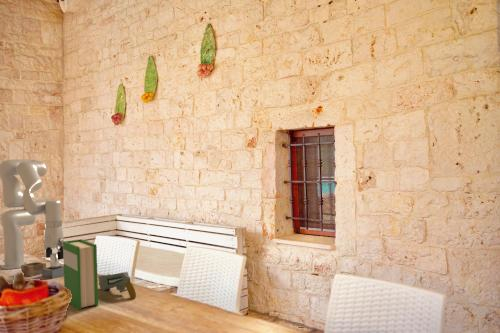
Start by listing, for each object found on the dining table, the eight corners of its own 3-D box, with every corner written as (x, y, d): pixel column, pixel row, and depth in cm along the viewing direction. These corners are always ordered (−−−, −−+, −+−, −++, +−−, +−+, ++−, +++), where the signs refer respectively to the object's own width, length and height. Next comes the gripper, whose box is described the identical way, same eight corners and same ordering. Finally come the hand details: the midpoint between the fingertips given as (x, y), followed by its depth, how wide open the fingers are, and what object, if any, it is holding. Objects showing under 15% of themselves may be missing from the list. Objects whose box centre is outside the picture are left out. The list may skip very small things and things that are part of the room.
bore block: (21, 274, 219) (21, 265, 219) (37, 271, 226) (36, 261, 226) (30, 276, 214) (30, 266, 214) (46, 272, 221) (46, 263, 221)
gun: (109, 308, 189) (102, 275, 193) (139, 296, 174) (130, 261, 178) (103, 310, 187) (95, 276, 190) (133, 298, 172) (124, 262, 175)
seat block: (41, 276, 214) (41, 268, 214) (58, 272, 221) (58, 264, 221) (52, 278, 209) (52, 270, 209) (68, 274, 216) (68, 266, 216)
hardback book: (98, 305, 166) (96, 244, 166) (78, 310, 161) (76, 247, 161) (83, 295, 179) (81, 239, 179) (64, 299, 175) (63, 241, 175)
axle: (49, 276, 214) (48, 254, 214) (56, 274, 218) (55, 252, 218) (53, 277, 212) (53, 255, 212) (61, 275, 216) (60, 253, 215)
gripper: (36, 224, 216) (37, 258, 216) (57, 226, 207) (58, 261, 207) (50, 222, 223) (51, 255, 223) (70, 224, 213) (72, 258, 213)
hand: (54, 258), depth 215 cm, fingers open, 9 cm apart
